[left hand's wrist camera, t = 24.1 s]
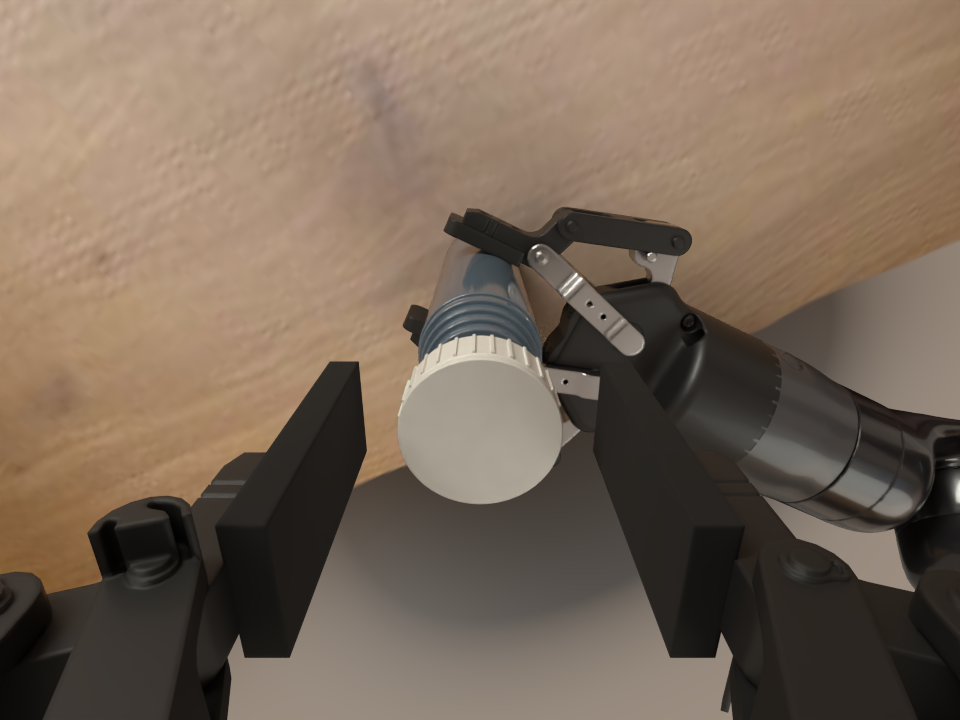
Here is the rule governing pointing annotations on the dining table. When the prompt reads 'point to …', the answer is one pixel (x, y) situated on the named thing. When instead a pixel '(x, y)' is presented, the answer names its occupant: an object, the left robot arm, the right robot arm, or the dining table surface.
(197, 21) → the dining table surface
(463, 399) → the cap
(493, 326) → the bottle
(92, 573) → the dining table surface
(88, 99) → the dining table surface
